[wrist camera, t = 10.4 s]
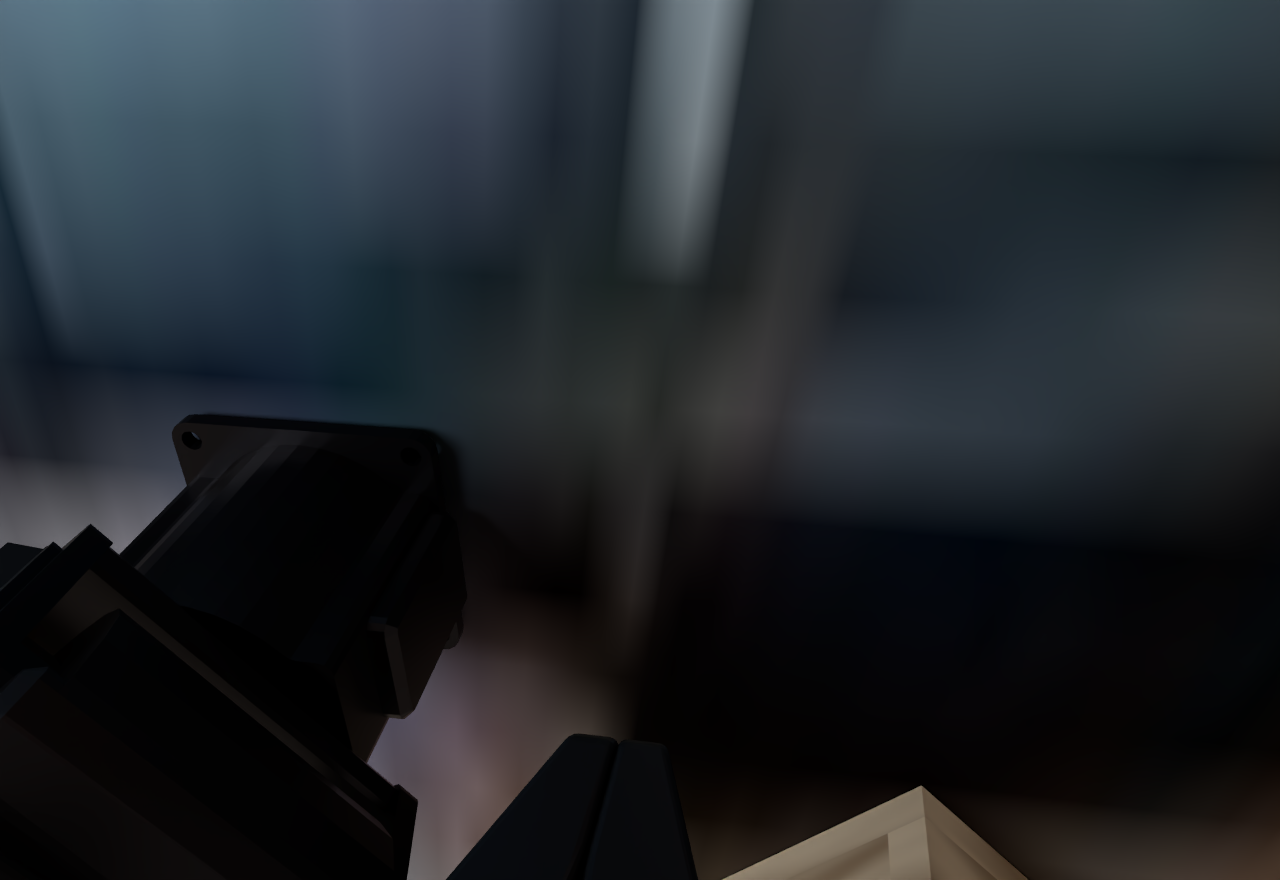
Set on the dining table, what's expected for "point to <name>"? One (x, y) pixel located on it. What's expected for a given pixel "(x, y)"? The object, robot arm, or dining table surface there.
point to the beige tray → (890, 848)
